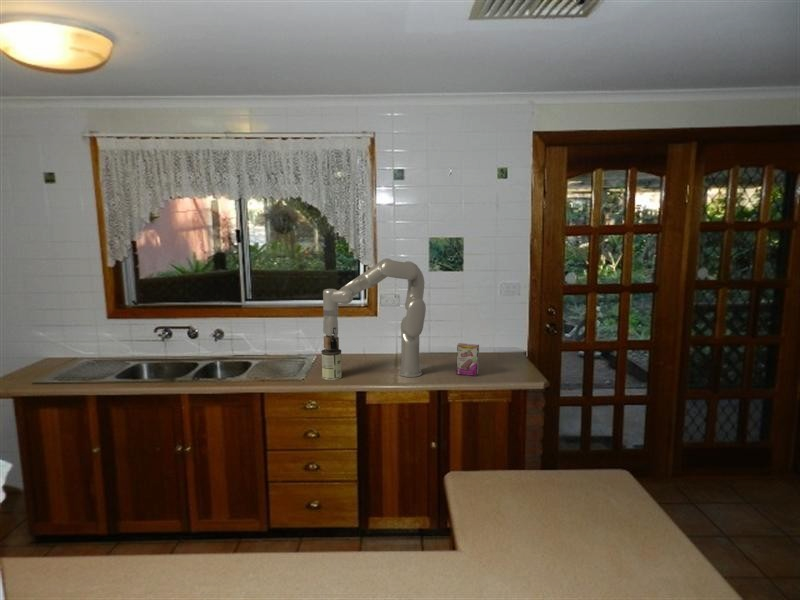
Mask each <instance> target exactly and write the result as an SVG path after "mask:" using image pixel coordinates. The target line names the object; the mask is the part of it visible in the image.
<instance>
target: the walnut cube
mask: <svg viewBox="0 0 800 600" xmlns="http://www.w3.org/2000/svg"><path fill="white" fill-rule="evenodd" d="M332 338H333V337H332ZM339 339H340V338H339V336H338V337H337V348H336V349H340V345H339V343H340V341H339ZM330 341H331V336H326V335H324V336H323V348H324V349H327V350H333V349H331V345H330Z"/></svg>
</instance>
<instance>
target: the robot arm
mask: <svg viewBox="0 0 800 600" xmlns="http://www.w3.org/2000/svg"><path fill="white" fill-rule="evenodd" d="M387 277H388V278H393V279H401V280H407V291H406V299H405V303H404V306H405V310H406V315H405V316H404V317H403V318H402V319H401V322H400V334H401V335H400V336H401V338H400V340H401V342H400V343H401V346H400V347H401V349H400V351H401V354H400V355H401V358H400V359H401V361H400V363H401V367H400V370H398V372H397V373H398V375H399V376H401V377H404V378H417V377H419V376H421V375H422V374H423V372H422V370H427V369H428V365H423V364H420V335H421V334H422V332H423V329H424V325H425V318H426V311H427V306H426V303H425V301H424V291H425V277H424V274H423V272H422V270H421V269H420V268H419V266H418V264H416V263H415V262H413V261H410V260H407V261H399V260H392V259H391V258H383V259H382V260H380V261H379V262H378V263H376V264H374V265H372V267H370V268H369V269H367V270H366V271H364V272H363V273H361V274H359V275H358V276H357V277H356V278H353V279H352V280H350V281H349V282H348V283H346V284H345V285H344V286H342V287H341V288H340V289H335V288H326V289H323V291H322V303H323V304H322V308H323V328H322V331H323V334H325V336H331V341H330V345H331V349H336V348H337V337H339V321H338V320H339V319H338V317H339V304H340V305H341V304H342V305H343V304H344V305H348V304H350V303H352V302H353V300H354V297H355V296H356V295H358V294H359V293H361V292H363V291H364V290H366V289H371V288H373V287H375V286H376V285H378V284H379V283H380V282H382V281H383V280H384V279H386V278H387ZM332 337H333V338H332Z"/></svg>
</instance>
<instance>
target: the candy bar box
mask: <svg viewBox="0 0 800 600" xmlns="http://www.w3.org/2000/svg"><path fill="white" fill-rule="evenodd" d="M456 346H457V347H456V348H457V349H456V370H455V372H456V375H459V376H467V375H472V376H471V377H477V376H478V375H477V374H479V358H480V357H479V353H480V344H473V343H461V342H458V344H457V345H456ZM473 375H474V376H473Z"/></svg>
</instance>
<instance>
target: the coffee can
mask: <svg viewBox="0 0 800 600" xmlns="http://www.w3.org/2000/svg"><path fill="white" fill-rule="evenodd" d="M321 373H322V374H321V378H322V379H323V380H327V381H335V380H339V379H342V377H343V375H342V374H343V373H342V349H340V348H339V349H333V350H327V349H325V348H324V349H322V350H321Z"/></svg>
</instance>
